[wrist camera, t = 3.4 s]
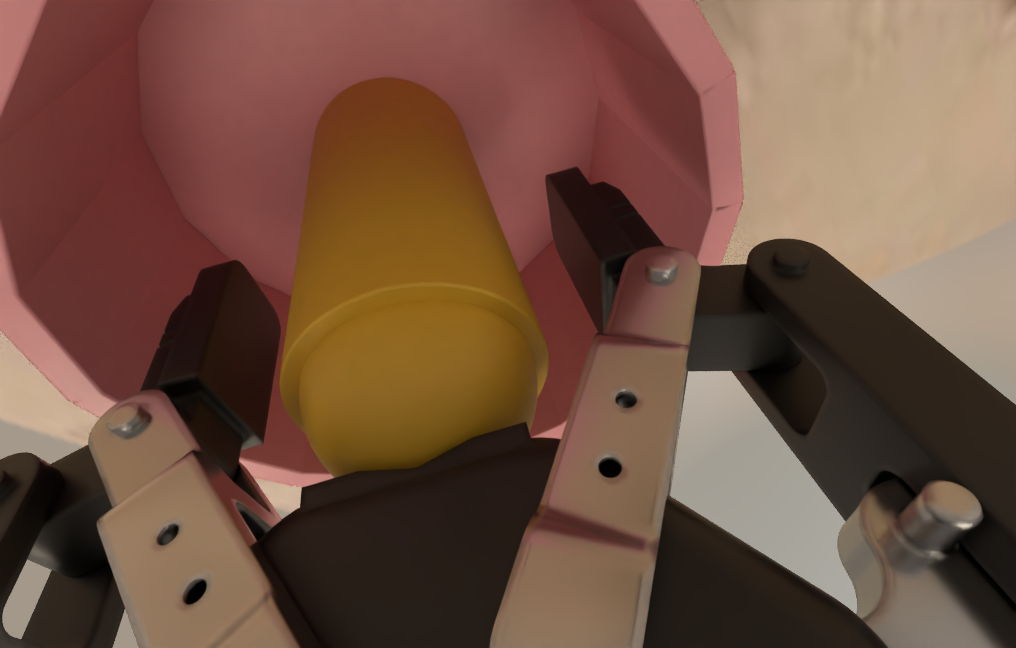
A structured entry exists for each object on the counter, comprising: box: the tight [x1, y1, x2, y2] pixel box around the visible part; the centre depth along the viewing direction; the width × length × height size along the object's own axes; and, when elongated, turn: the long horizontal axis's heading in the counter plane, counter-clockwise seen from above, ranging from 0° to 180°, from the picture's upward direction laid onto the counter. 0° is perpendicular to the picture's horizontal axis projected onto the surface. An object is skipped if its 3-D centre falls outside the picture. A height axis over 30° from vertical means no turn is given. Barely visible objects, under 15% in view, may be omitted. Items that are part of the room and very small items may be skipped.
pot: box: [0, 0, 744, 487], centre depth 13 cm, size 14×14×8 cm
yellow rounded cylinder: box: [279, 78, 549, 478], centre depth 11 cm, size 5×5×11 cm
